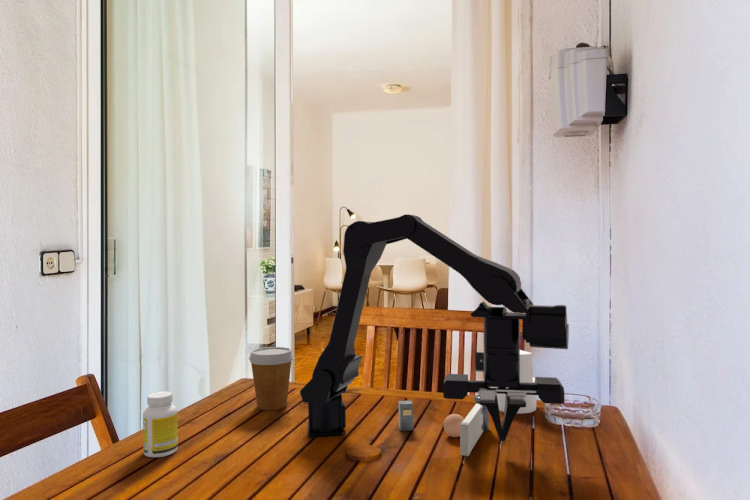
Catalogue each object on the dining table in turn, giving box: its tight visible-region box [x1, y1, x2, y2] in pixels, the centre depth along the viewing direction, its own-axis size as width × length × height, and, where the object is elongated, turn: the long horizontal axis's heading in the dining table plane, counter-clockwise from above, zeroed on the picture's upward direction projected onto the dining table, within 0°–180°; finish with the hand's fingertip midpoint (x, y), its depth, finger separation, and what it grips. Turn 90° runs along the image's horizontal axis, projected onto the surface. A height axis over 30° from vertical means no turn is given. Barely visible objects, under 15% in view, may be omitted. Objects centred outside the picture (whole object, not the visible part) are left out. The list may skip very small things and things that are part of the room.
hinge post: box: [473, 394, 490, 432], centre depth 99 cm, size 3×3×6 cm
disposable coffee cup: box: [248, 346, 295, 411], centre depth 115 cm, size 10×10×12 cm
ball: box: [443, 413, 465, 438], centre depth 95 cm, size 4×4×4 cm
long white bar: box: [459, 403, 484, 457], centre depth 92 cm, size 12×1×5 cm, turn 157°
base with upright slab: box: [491, 349, 537, 415], centre depth 112 cm, size 9×9×12 cm
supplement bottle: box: [142, 391, 179, 458], centre depth 90 cm, size 5×5×10 cm
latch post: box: [397, 400, 414, 432], centre depth 99 cm, size 2×2×5 cm
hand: (502, 440), depth 87 cm, fingers closed
